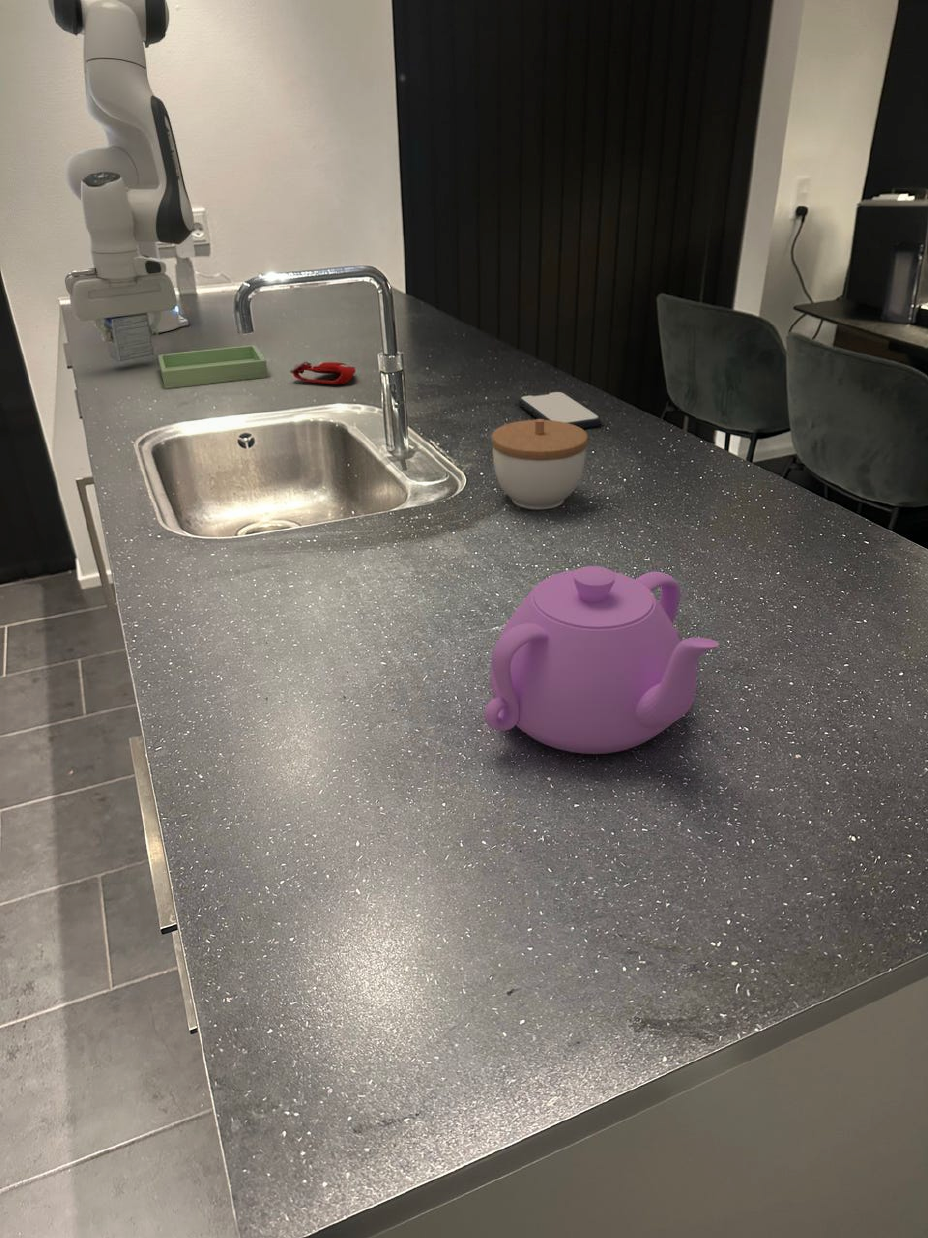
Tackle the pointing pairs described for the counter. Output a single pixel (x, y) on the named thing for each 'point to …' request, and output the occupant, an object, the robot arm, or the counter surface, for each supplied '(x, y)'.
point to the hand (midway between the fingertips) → (131, 337)
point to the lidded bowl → (539, 461)
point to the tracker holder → (325, 371)
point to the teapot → (594, 662)
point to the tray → (212, 366)
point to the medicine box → (129, 337)
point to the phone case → (559, 409)
